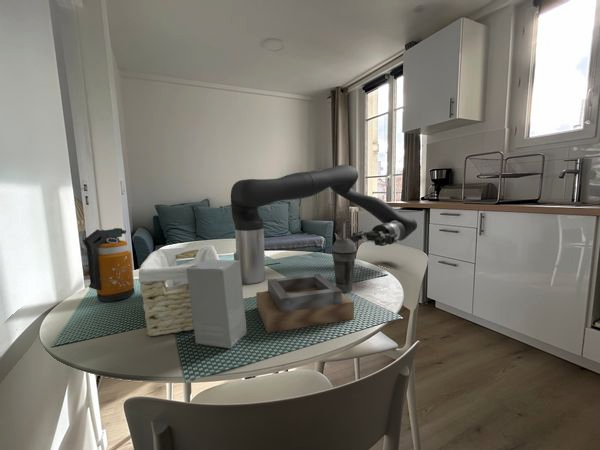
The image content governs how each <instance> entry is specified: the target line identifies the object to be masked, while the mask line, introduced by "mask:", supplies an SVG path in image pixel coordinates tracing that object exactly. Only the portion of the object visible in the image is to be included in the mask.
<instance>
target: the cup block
mask: <svg viewBox="0 0 600 450" xmlns="http://www.w3.org/2000/svg"><path fill="white" fill-rule="evenodd" d="M255 293H256V294H255V295H256V296H255V297H256V309H257V312H258V314H259V316H260V318H261V321H262V324H263V325H264V328H265V331H266V333H267V334H271V333H276V332H277V333H278V332H283V331H288V330H294V329H300V328H306V327H313V326H318V325H325V324H329V323H330V324H331V323H337V322H343V321H349V320H354V319H355V301H354V300H352V299H351V298H349V297H348V296H347V295H345V293H344V292H342V290H340V289H339V288H337V287H336V284H334V283H332V282H331V281H329V280H328V279H327V278H325V277H324V276H323V275H321V274H320V273H315V274H308V275H298V276H297V275H296V276H289V277H279V278H270V279H267V290H266V291H265V290H264V291H257V292H255Z"/></svg>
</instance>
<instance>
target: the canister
mask: <svg viewBox="0 0 600 450" xmlns="http://www.w3.org/2000/svg"><path fill="white" fill-rule="evenodd" d="M126 233H127V230H125V229H123V228H118V227H114V228H113V229H112V228H111V229H95V231H93V232H92V233H91V234H89V235H88V236H87V237H85V238H84V239H83V240H82V242H83V244H84V246H85V248H86V256H87V262H88V263H87V264H88V272H89V273H88V274H89V282H90V283H89V286H88V288H90V289H92V290H96V293H97V294H96V298H97V299H96V300H98V301H100V302H101V301H102V302H110V303H111V302H116V301H122V300H124V299H127V298H129V297H130V296H132V295H134V294H135V282H134V271H133V261H132V260H133V259H132V251H130V250H129V243H128V242H127V241H126V240H120V238H121V237H123V235H124V234H126Z"/></svg>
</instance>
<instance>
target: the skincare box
mask: <svg viewBox="0 0 600 450" xmlns="http://www.w3.org/2000/svg"><path fill="white" fill-rule="evenodd" d="M186 270H187V278H188V285H189V293H190V301H191V309H192V317H193V325H194V329H193V332H194V339H195V344H197V345H205V346H210V347H211V346H212V347H217V348H218V347H219V348H225V349H231V348H233V346H235V345H236V344H237V343H238V341H240V340H241V339H242V338H243V337H244V336H246V334H247V332H248V331H247V320H246V319H247V318H246V311H245V310H246V309H245V302H244V301H245V300H244V293H243V283H242V280H241V271H240V261H237V260H234V259H233V260H232V259H231V260H229V259H227V260H225V259H220V260H204V261H202V262H200V263H198V264H195V265H193V266H191V267H188V268H186Z"/></svg>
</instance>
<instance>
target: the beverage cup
mask: <svg viewBox="0 0 600 450" xmlns="http://www.w3.org/2000/svg"><path fill="white" fill-rule="evenodd" d="M342 224H343V230H342V232H343V233H342V235H343V236H342V237H339V238H337V239H336V240H335V241H334V242H333V245H332V248H331V254H332V259H333V268H334V279H335V286H336V287H337V288H339V289H340V290H342V293H350V292H351V291H352V289H353V285H354V284H353V283H354V272H355V262H356V258H357V256H356V255H357V254H358V253H357V252H358V251H357V247H356V244H355V242H353V241H352V240H351V238H348V237H346V222H343V223H342ZM352 292H353V291H352Z"/></svg>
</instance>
